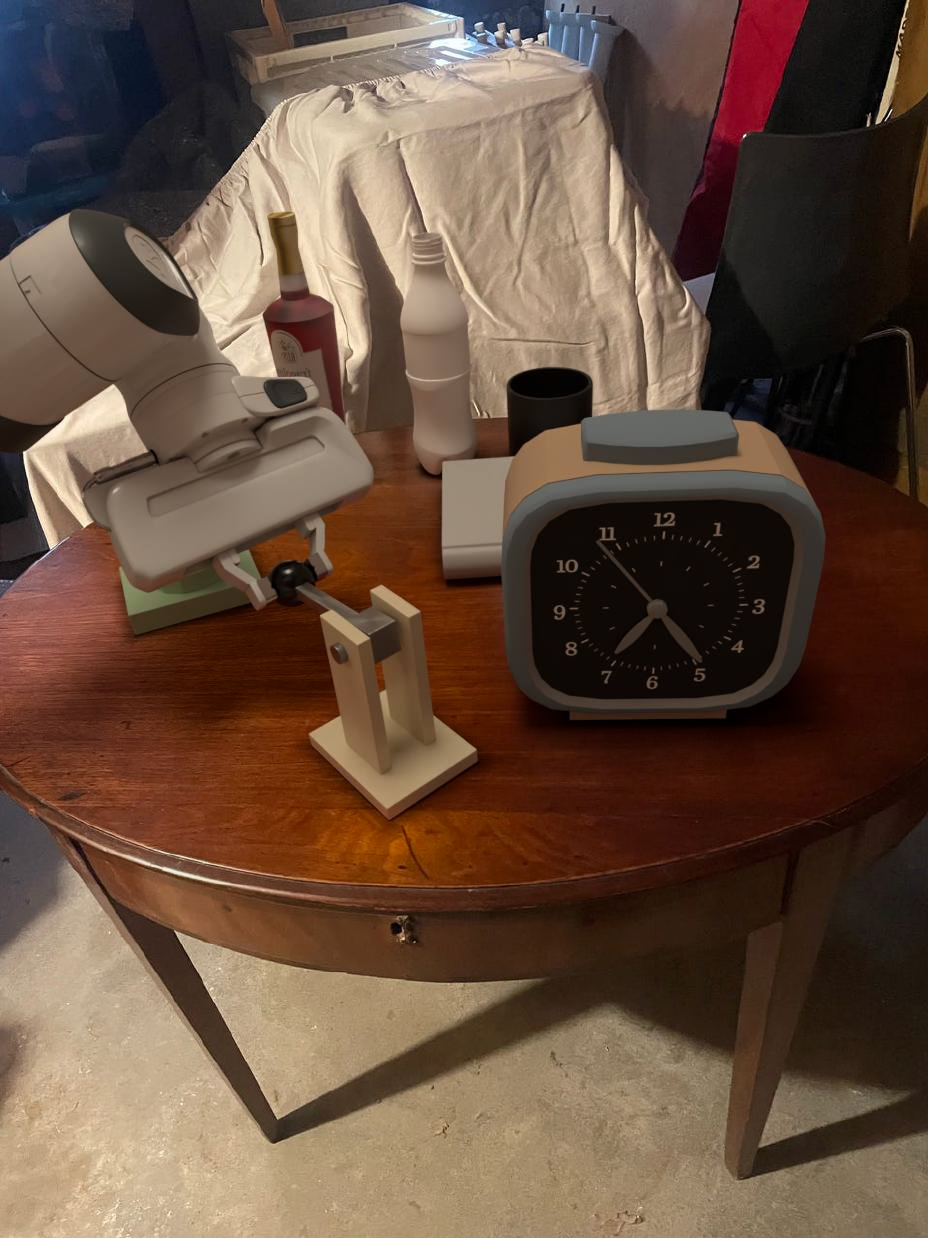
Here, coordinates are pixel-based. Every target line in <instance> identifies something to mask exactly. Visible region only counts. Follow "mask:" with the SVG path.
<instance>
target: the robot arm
mask: <svg viewBox="0 0 928 1238" xmlns="http://www.w3.org/2000/svg"><path fill="white" fill-rule="evenodd" d="M111 386H115V388H116V389H117V390H118V391H119V393H120V394H121V396H122V399H123V402H124V403H125V408H126V412H127V417H128V419H129V421H130V423H131V425H132V426H133V428H134V430H135V432H136V433H137V435H138V437H139V439H140V440H141V442H142V444H143V446H144V447H145V449H146V452H143V453H140V454H138V455H135V456H132V457H130V458H128V459H126V460H123V461H122V462H120V463H116V464H114V465H107V466H104V467H101V468H99V469H97V470H95V471H93V472H92V474H91V475H92V477H91V478H90V479H88V481H86V483H84V486H83V487H82V489H81V490H82V491H81V501H82V504H83V506H84V508H85V510H86V511H87V513H88V514H89V517H90V518H91V520H92V522H93V523H94V524H95V525H96V526H97V527H99V528H100V529H101V530H104V531H107V534H108V536H109V539H110V543H111V545H112V548H113V550H114V553H115V556H116V558H117V560H118V563H119V565H120V566H121V567H122V569H123V571H124V573H125V575H126V577H127V579H128V581H129V583H130V584H131V585H132V586H133V587H134V588H137V589H139V590H141V591H144V592H146V593H150V592H153V591H155V590H157V589H160V588H162V587H164V586H166V585H169V584H171V583H173V582H175V581H178V580H180V579H182V578H185V577H187V576H189V575H191V574H194V573H196V572H198V571H201V570H203V569H205V568H207V567H210V566H212V565H213V567H214V568H215V570H216V572H217V574H218V575H219V577H220V578H221V579H222V580H224V581H226V582H228V583H229V584H231V585H233V586H234V587H236V588H238V589H239V590H241V591H243V592H244V591H245V592H246V594H247V596H248V598H249V599H250V601H251V605H252V606H253V608H254V609H255V610H256V611H261V610H262V609H264V608H267V607H268V606H271V605H272V604H275V603H276V602H275V601H276V600H277V599H278V596H277V593H276V591H275V589H273V588H271V582H270V580H269V579H268V576H264V577H263V578H262V577H261V579H260V580H258V581H257V580H256V579H255V578H253V577H252V576H250V575H249V574H247V573H246V572H244V571H243V570H241V569H240V568H238V565H239V563H240V561H241V559H240V557H239V556H238V554H239V553H241V552H244V551H246V550H248V549H249V550H250V549H253V548H255V547H257V546H260V545H262V544H264V543H266V542H268V541H271V540H274V539H276V538H278V537H280V536H282V535H284V534H287V533H289V532H291V531H294V530H296V532H297V534H298V535H299V537H300V539H301V540H303V541H305V540H307V539H308V538H309V540H308V541H309V556H308V557H307V558H306V559H305V560H304V561H303V563H305V564H306V565H307V566H308V567H309V568H310V569H311V570H312V572H313V574H314V576H315V580H316V583H318V582H320V581H323V580H324V579H327V578H329V577H330V576H332V574H333V573H334V572H335V570H334V566H333V564H332V562H331V560H330V559H329V557H328V555H327V554H326V552H325V550H326V524H325V522H324V521H323V519H322V518H323V517H325V516H328V515H330V514H332V513H334V512H338V511H339V510H341V509H344V508H346V507H348V506H350V505H353V504H356V503H358V502H360V501H361V500H362V499H363V498H364V497H365V496H366V495H367V494H368V493H369V492H370V490H371V489H372V488H373V485H374V478H375V471H374V468H373V466H372V463H371V462H370V460H369V458H368V456H367V455H366V453H365V451H364V450H363V448H362V447H361V445H360V444H359V442H358V441H357V439H356V437H355V436H354V434H353V433H352V431H351V430H350V429H349V428H348V426H347V424H346V425H345V424H344V422H343V421H342V420H341V419H340V418H339V417H338V416H337V415H336V414H335V413H333V412H332V411H330V410H328V409H326V408H323V407H316V405H317V403H318V400H319V397H320V395H319V391H318V389H317V387H316V386H315V384H314V382H313V381H312V380H311V379H309V378H306V377H278V376H256V375H255V376H254V375H241V373H240V372H239V370H238V368H237V367H236V365H235V364H234V363H233V362H232V360H231V359H230V358H229V357H227V356H226V355H225V353H223V350H221V349H220V348H219V346H218V344H217V341H216V339H215V335H214V331H213V327H212V324H211V322H210V319H209V317H208V316H207V315H206V313H205V310H204V309H203V308H202V306H201V304H200V301H199V298H198V296H197V294H196V292H195V290H194V289H193V287H192V286H191V283H190V282H189V280H188V279H187V277H186V275H185V273H184V271H183V270H182V268H181V267H180V265H179V263H178V262H177V260H176V259H175V257H174V255H173V254H172V253H171V252H170V250H169V249H168V248H167V246H165V245H164V244H163V242H162V241H160V239H159V238H158V237H157V236H156V235H154V233H152V232H151V231H150V230H149V229H147V228H145V227H144V226H142V225H141V224H140V223H137V222H136V221H133V220H130V219H128V218H124V217H121V216H118V215H114V214H111V213H108V212H103V211H98V210H93V209H85V208H76V209H73V210H71V211H70V212H68V213H66V214H64V215H62V216H60V217H58V218H57V219H55V220H53V221H52V222H50V223H49V224H47V225H46V226H45V227H43V228H41V230H39V231H37V232H36V233H35V234H33V235H31V236H30V237H28V238H27V239H26V240H25V241H23V242H22V243H20V244H19V245H17V246H16V247H14V249H12V251H10V253H9V254H8V255H6V256H5V257H3V258H2V259H1V260H0V453H2V454H21V453H24V452H27V451H29V450H30V449H31V448H32V447H33V446H35V445H36V444H37V443H38V442H39V441H41V440H42V439H43V438H44V437H45V436H47V435H48V434H49V433H50V432H51V431H52V430H54V429H55V428H56V427H57V426H59V425H60V424H61V423H62V422H63V421H64V420H65V418H66V417H67V416H69V415H70V414H71V413H73V412H75V411H76V410H77V409H79V408H80V407H82V406H83V405H85V404H87V403H88V402H89V401H90V400H92V399H93V398H95V397H97V396H98V395H100V394H101V393H102V392H104V391H105V390H107V389H108V388H110V387H111ZM95 484H96V485H95Z"/></svg>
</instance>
